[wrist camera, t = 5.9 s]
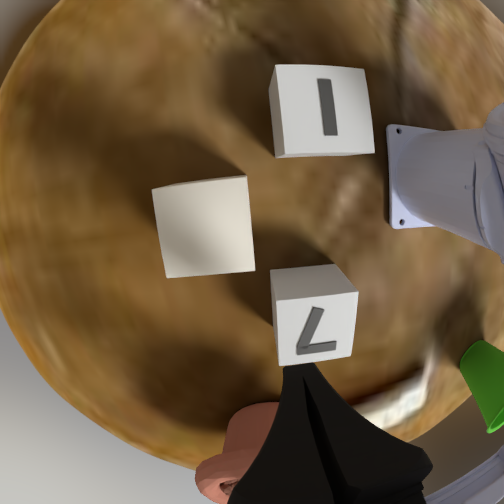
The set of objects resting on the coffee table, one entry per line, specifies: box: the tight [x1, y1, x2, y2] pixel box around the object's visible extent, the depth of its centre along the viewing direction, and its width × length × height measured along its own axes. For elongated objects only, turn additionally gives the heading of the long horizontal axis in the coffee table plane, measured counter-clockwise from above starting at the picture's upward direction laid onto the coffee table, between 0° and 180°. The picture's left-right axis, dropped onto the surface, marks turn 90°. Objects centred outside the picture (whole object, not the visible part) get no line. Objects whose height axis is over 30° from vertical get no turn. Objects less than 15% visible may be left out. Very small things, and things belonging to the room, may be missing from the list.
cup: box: [459, 340, 504, 433], centre depth 19 cm, size 9×9×11 cm
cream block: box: [152, 175, 255, 278], centre depth 16 cm, size 5×5×5 cm
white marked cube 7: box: [270, 264, 358, 366], centre depth 18 cm, size 5×5×5 cm
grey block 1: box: [268, 65, 375, 158], centre depth 14 cm, size 5×5×5 cm
